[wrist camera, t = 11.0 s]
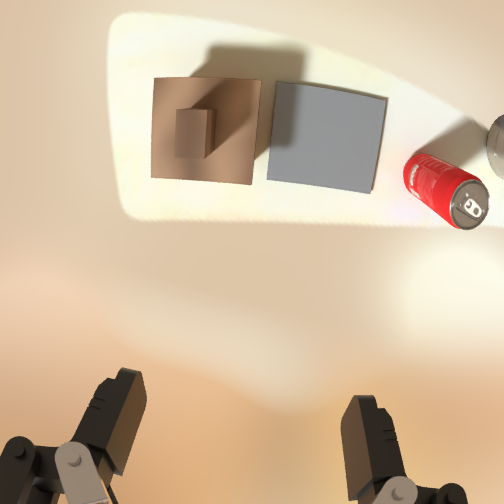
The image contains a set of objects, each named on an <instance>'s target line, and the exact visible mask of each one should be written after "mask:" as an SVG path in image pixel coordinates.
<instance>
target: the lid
mask: <svg viewBox="0 0 504 504" xmlns="http://www.w3.org/2000/svg"><path fill="white" fill-rule="evenodd" d="M261 82H262V81H261V80H250V79H234V78H209V77H166V78H154V90H153V108H152V135H151V178H166V179H182V180H197V181H210V182H222V183H234V184H245V185H252V178H253V167H254V156H255V145H256V134H257V124H258V113H259V103H260V92H261Z"/></svg>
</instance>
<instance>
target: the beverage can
mask: <svg viewBox="0 0 504 504" xmlns="http://www.w3.org/2000/svg"><path fill="white" fill-rule="evenodd" d="M403 178H404V183H405V186H406V188H407V189H408V191H409V192H410V193H412V194H413V195H414V196H416V197H417V198H418V199H419V200H421V201H422V202H423V203H425V204H426V205H427V206H428V207H430V208H431V209H432V210H433V211H435V212H436V213H437V214H438V215H440V216H441V217H442V218H443V219H444V220H446V221H447V222H448V223H449V224H450V225H452V226H453V227H455V228H458V229H463V230H471V229H474V228H476V227H477V226H479V225H480V224H481V223H482V222H483V220H484V219H485V217H486V215H487V213H488V210H489V205H490V196H489V193H488V190H487V188H486V187H485V185H484V184H483V183H482V181H481V180H480V179H479V178H477V177H476V176H474V175H472V174H470V173H468V172H466V171H464V170H462V169H459V168H457V167H455V166H453V165H451V164H448V163H446V162H444V161H442V160H439V159H437V158H435V157H433V156H430V155H427V154H418V155H416V156H414V157H412V158H410V159H409V160H408V161H407V163H406V164H405V166H404V170H403Z"/></svg>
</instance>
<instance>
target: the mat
mask: <svg viewBox="0 0 504 504" xmlns="http://www.w3.org/2000/svg"><path fill="white" fill-rule="evenodd" d="M385 104H386V101H384V100H380V99H376V98H372V97H367V96H363V95H358V94H353V93H348V92H343V91H338V90H333V89H327V88H321V87H315V86H308V85H301V84H294V83H286V82H277V88H276V97H275V107H274V116H273V125H272V135H271V144H270V153H269V162H268V171H267V180H274V181H282V182H291V183H299V184H306V185H314V186H321V187H328V188H335V189H341V190H348V191H354V192H360V193H367V194H370V193H371V188H372V183H373V178H374V172H375V167H376V161H377V156H378V150H379V144H380V138H381V132H382V125H383V118H384V111H385Z"/></svg>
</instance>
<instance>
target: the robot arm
mask: <svg viewBox="0 0 504 504" xmlns="http://www.w3.org/2000/svg"><path fill="white" fill-rule="evenodd" d="M487 154H488V159H489V162H490V165H491V167H492V169H493V171H494V172H495V173H496V174H497V175H498V176H499V177H501V178H502V179H504V115H502V116H500V117H498V118H497V119H496V120H495V121H494V123H493V124H492V126H491V128H490V131H489V134H488V139H487ZM146 402H147V396H146V390H145V386H144V381H143V377H142V373H141V372H140V371H136V370H131V369H127V368H121V369H120V370H119V372H118V374H117V376H116V378H115V379H111V378H107V379H106V380H105V381H103V382H102V383H101V384H100V385H99V386H98V388H97V389H96V391H95V393H94V395H93V399H91V401H90V403H89V407H87V409H86V411H85V413H84V416H83V418H82V420H81V422H80V424H79V426H78V428H77V430H76V432H75V434H74V436H73V438H72V439H71V440H70V441H69V442H67V443H64V444H62V445H61V446H60V447H46V446H35V445H34V444H33V443H32V442H31V441H30V440H29V439H27V438H25V437H21V436H17V437H14V438H12V439H10V440H9V441H8V442H7V443H6V445H5V448H4V449H3V452H2V454H1V456H0V504H57V502H58V499H59V496H60V494H61V493H62V494H65V495H66V498H67V501H68V504H120V502H119V500H118V498H117V496H116V493H115V491H114V489H113V487H112V484H111V479H112V476H113V474H116V475H120V476H122V474H123V471H124V468H125V465H126V463H127V460H128V457H129V454H130V451H131V448H132V445H133V442H134V439H135V436H136V433H137V430H138V428H139V425H140V422H141V419H142V416H143V413H144V411H145V407H146ZM341 437H342V445H343V453H344V461H345V470H346V478H347V488H348V499H349V501H352V500H358V504H468V502H467V497H466V493H465V491H464V489H463V488H462V487H461V486H460V485H458V484H455V483H448V484H446V485H444V486H442V487H441V488H440V489H436V488H427V487H421V486H417V485H415V483H414V482H413V481H412V480H411V479H409V478H408V477H407V476H406V473H405V470H404V465H403V461H402V457H401V453H400V448H399V444H398V441H397V436H396V433H395V428H394V425H393V421H392V418H391V416H390V415H389V414H388V413H387V411H386V410H385V408H377V403H376V399H375V397H374V396H373V395H354V397H353V398H352V400H351V402H350V404H349V406H348V408H347V409H346V411H345V413H344V415H343V417H342V420H341Z"/></svg>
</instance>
